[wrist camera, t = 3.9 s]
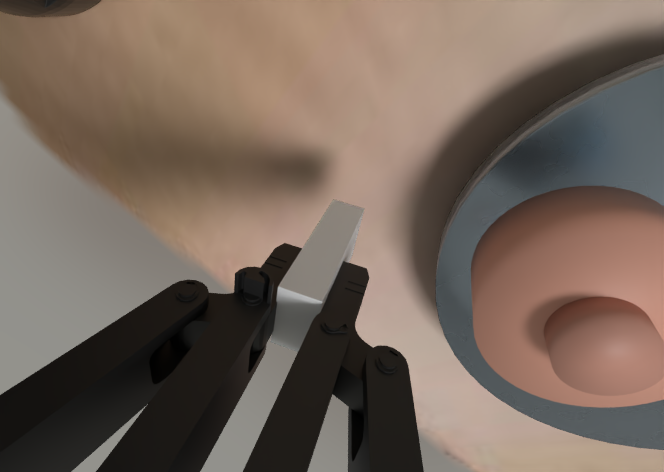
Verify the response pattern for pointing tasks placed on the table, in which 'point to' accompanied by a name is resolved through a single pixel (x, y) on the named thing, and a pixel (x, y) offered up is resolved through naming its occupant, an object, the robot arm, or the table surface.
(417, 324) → the table surface
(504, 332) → the cover
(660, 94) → the turntable
